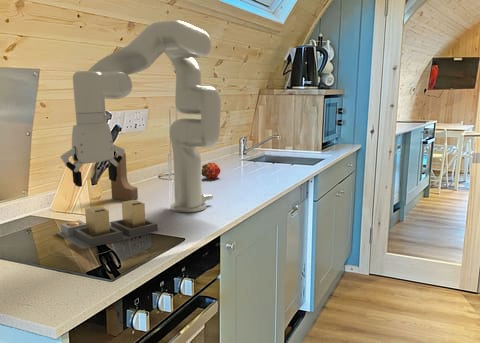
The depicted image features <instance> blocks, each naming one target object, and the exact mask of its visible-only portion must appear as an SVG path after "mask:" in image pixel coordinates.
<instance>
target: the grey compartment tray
mask: <svg viewBox="0 0 480 343" xmlns="http://www.w3.org/2000/svg"><path fill="white" fill-rule="evenodd" d="M71 222H79V225H75V226H69V223H71ZM109 226H110V233H109V234H105V235H100V236H96V237H91V236H90V235H88V234H87V231H86V222H84V221H82V220H81V219H80V220H79V219H77V220H73V221H68V222H63V223H60V231H59V232H56V234H57V235H58V236H60V237H61V238H63V239H66V240H67V241H68V242H70V243H71V244H73V245H75V246H76V247H78V248H79V249H82V250H85V249H90V248H93V247H97V246H98V247H99V246H101V245H106V244H110V243H115V242H118V241H123V240H127V239H130V238H136V237H139V236H144V235H148V234H152V233H156V232H161V231H163V229H162V228H159V226H158V223H156V222H154V221H152V220H149V219H146V218H145V226H140V227H136V228H132V229H130V228H128V227H126V226H124V225H123V218H122V219H117V220H112V221H109Z"/></svg>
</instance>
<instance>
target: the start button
mask: <svg viewBox="0 0 480 343" xmlns="http://www.w3.org/2000/svg"><path fill="white" fill-rule="evenodd" d="M70 222H71V223H69V226H75V225H79V222H73V221H70Z"/></svg>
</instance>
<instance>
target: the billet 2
mask: <svg viewBox="0 0 480 343" xmlns="http://www.w3.org/2000/svg"><path fill="white" fill-rule="evenodd" d="M121 211H122V213H121V215H122V219H123V225H124V226H126V227H128V228H130V229H132V228H136V227H140V226H145V219H146V207H145V203H144V202H142V201H139V200H137V199H135V200H130V201H125V200H123V201H121Z"/></svg>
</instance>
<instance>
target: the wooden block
mask: <svg viewBox="0 0 480 343" xmlns="http://www.w3.org/2000/svg"><path fill="white" fill-rule="evenodd" d="M115 152H116V155H115V157H116V156H117V151H115ZM126 154H127V153H126V152H125V151H124V154H123V156H122V159H121V161H120V162H119V163H118V166H117V177H116V181H112V180H110V184H111V187H110V188H111V200H114V199H115V200H117V201H125V200H126V201H130V200H137V199H139V193H138V190H139V189H138V187H137V186H133V185H131V184H130V183H129V181H128V174H127V171H128V169H127V156H126ZM115 157H114V158H115ZM115 200H114V201H115Z"/></svg>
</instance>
